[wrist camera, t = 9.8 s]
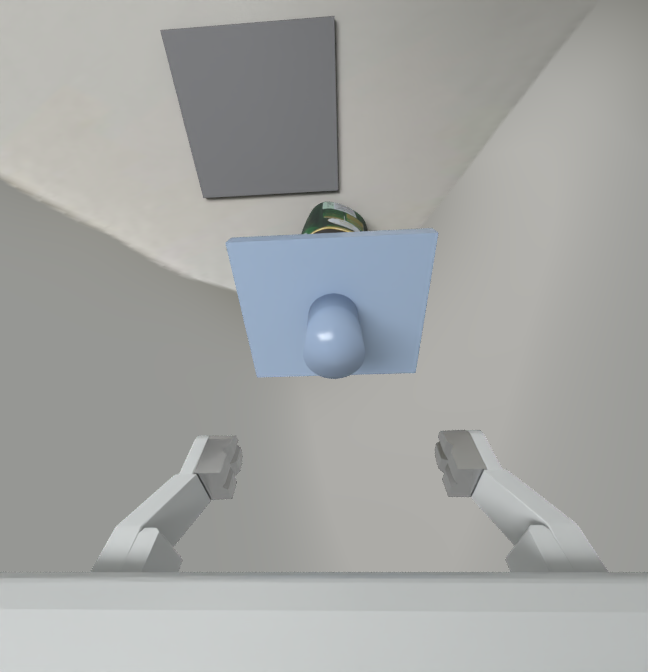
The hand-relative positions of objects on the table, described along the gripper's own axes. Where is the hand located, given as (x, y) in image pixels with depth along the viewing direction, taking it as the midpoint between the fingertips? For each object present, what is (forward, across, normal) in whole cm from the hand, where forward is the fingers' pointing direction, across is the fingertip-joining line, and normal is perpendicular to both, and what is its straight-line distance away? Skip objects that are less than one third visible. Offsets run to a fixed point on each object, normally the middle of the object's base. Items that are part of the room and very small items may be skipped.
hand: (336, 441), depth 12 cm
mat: (+30, +7, -13) cm, 34 cm away
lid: (+12, 0, 0) cm, 12 cm away
